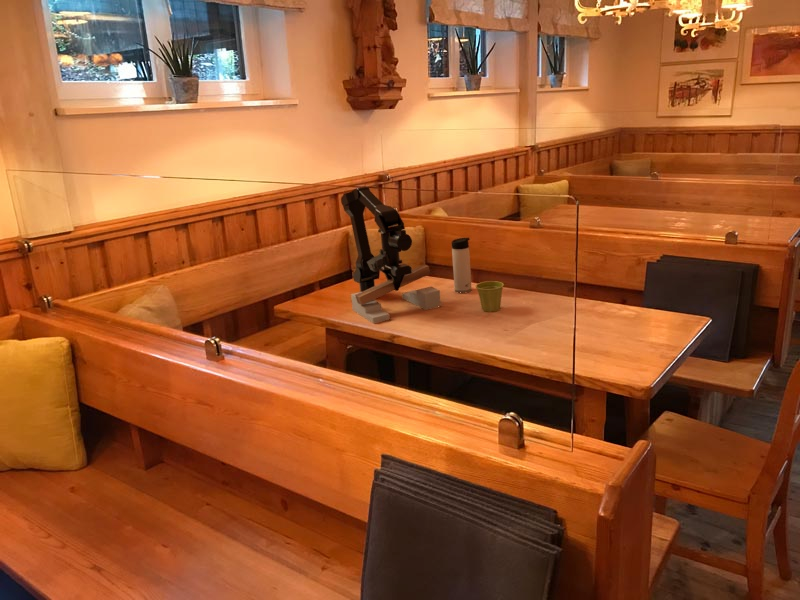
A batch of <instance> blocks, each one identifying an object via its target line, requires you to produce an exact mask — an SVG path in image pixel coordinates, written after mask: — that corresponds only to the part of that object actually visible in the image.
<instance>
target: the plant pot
mask: <svg viewBox="0 0 800 600" xmlns="http://www.w3.org/2000/svg"><path fill="white" fill-rule="evenodd" d="M504 286H505V284H504V283H503V282H501V281H495V280H487V281H482V282H479V283H476V285H475V288H476V289H477V290H476V291H477V293H478V296H479V297H478V298H479V301H480V307H481V310H482V311H483V312H486V313H490V312H498V311H500V310H501V305H502V304H501V303H502V291H503V287H504Z"/></svg>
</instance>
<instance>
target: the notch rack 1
mask: <svg viewBox="0 0 800 600" xmlns="http://www.w3.org/2000/svg"><path fill="white" fill-rule="evenodd" d="M358 293H361V292H360V291H359V292H355V293H351V294H350V296H351V297H350V298H351V307H352V311H353V312H355V313H357V314H358V315H359V316H361V317H363V318H364V319H366V320H367V321H369V322H371V323H372V324H378V323H381V322H385V320H386V321H390V320H389V319H390V314H389V313H388V312H387V311H385V310H383V309H382V304H381V303H380V302H378V301H376V299H374V300H372V301H370V302H367V303H365V304H363V305H361V304H359V303H358V302H357V299H356V296H355V295H356V294H358ZM377 322H378V323H377Z"/></svg>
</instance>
